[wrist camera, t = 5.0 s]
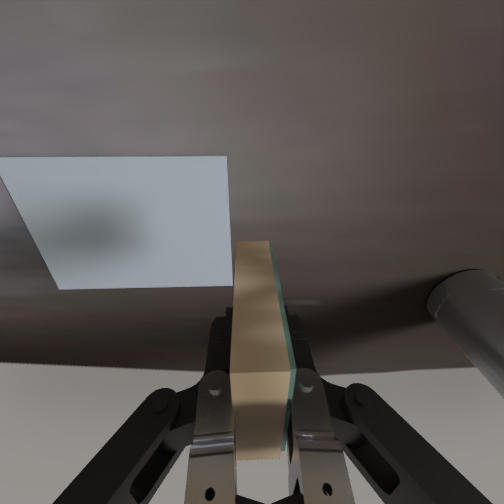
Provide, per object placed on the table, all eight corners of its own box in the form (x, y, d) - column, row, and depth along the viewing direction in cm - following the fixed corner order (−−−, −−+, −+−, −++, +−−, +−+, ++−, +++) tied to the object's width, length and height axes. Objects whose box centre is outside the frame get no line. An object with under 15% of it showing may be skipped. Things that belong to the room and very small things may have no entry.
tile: (272, 240, 14) (298, 371, 7) (268, 317, 17) (285, 458, 11) (236, 241, 14) (229, 373, 7) (239, 317, 17) (236, 460, 10)
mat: (226, 155, 25) (226, 156, 24) (232, 283, 33) (232, 285, 33) (-6, 156, 24) (-9, 157, 24) (61, 287, 32) (59, 289, 32)
